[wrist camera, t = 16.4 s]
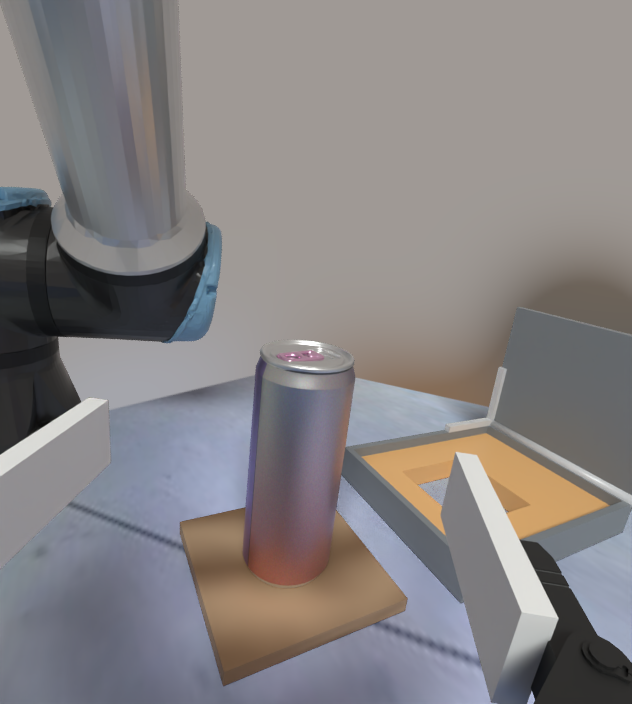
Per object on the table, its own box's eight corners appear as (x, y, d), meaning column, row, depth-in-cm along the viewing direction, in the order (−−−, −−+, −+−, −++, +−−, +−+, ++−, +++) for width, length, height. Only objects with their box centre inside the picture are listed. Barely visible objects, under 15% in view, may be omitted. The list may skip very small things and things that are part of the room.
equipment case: (340, 473, 42) (364, 305, 37) (487, 443, 52) (521, 307, 47) (460, 603, 29) (523, 365, 24) (628, 529, 38) (696, 350, 33)
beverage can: (227, 545, 30) (239, 342, 26) (297, 518, 33) (318, 335, 29) (269, 609, 25) (292, 375, 21) (345, 570, 29) (379, 363, 25)
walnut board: (179, 533, 32) (179, 521, 32) (319, 500, 38) (320, 490, 37) (223, 686, 22) (224, 672, 22) (405, 610, 28) (407, 598, 27)
